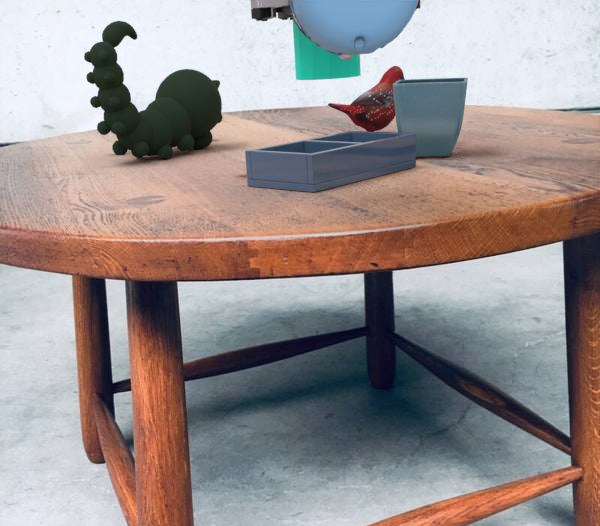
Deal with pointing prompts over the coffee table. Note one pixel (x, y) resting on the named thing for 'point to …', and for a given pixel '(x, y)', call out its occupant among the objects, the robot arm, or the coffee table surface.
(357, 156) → the divided storage tray
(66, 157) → the coffee table surface
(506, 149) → the coffee table surface
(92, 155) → the coffee table surface
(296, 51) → the candle
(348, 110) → the decorative bird figurine
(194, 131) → the toy figurine
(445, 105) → the flower pot
